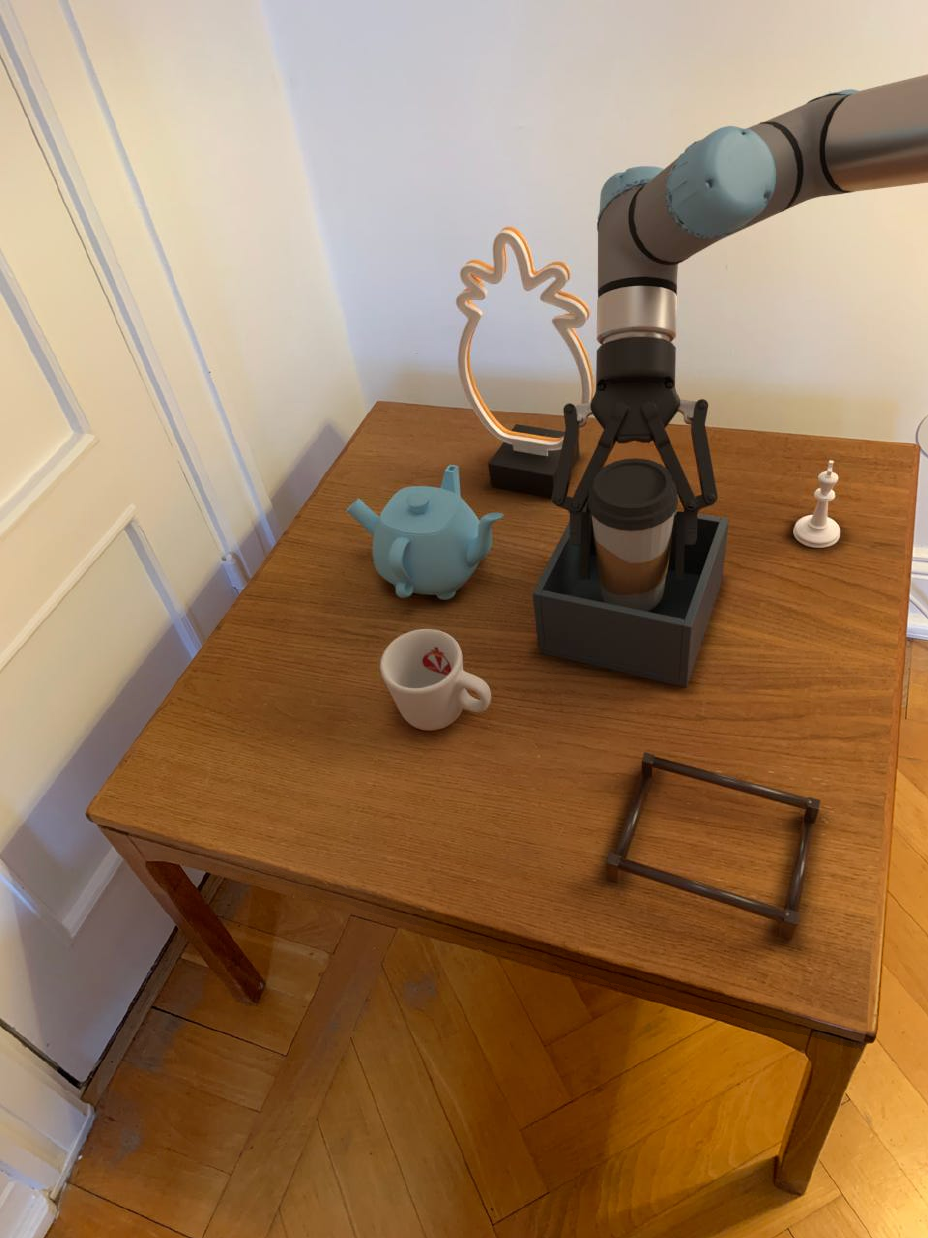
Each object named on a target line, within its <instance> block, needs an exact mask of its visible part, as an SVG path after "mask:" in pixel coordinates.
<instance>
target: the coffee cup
mask: <svg viewBox="0 0 928 1238" xmlns="http://www.w3.org/2000/svg"><path fill="white" fill-rule="evenodd" d="M678 498H679V497H678V494H677V488H676V484H675V483H674V481H673V479H672V476H671V474H670V472H669V471H668V470H667V469H666V468H665V465H664V466H663V464H661V463H658V462H656V461H654V460H650V459H646V458H636V457H634V458H624V459H620V460H615V461H613V462H611V463H609V464H606V465H604V467H603V468H602V469H601V470H600V471H599V472H598V473H597V475H596V476H595V478H594V481H593V483H592V485H591V488H590V490H589V500H588V506H589V510H590V512H591V514H592V522H593V530H594V545H595V553H596V560H597V568H598V576H599V579H600V585H601V593H602V597H603V599H604V601H605V602H606V603H608V604H613V605H617V606H622V607H627V608H632V609H636V610H641V611H646V612H649V611H651V610H652V609H654V608H655V607H656V606H657V604H659V602H660V601H661V599H662V597H663V593H664V586H665V579H666V574H667V570H668V562H669V555H670V548H671V541H672V527H673V520H674V513H675V511H676V510H677V509H678V504H679V499H678Z"/></svg>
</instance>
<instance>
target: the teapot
mask: <svg viewBox="0 0 928 1238" xmlns="http://www.w3.org/2000/svg"><path fill="white" fill-rule="evenodd" d="M459 468H460V467H459V465H455V464H449V465H448V466H447V467H446V469H444V474H443V476H442V481H441V484H440V487H436V486H430V485H429V486H428V485H412V486H406V487H403V488H401V489H400V490H398V491H396V492H395V494H393V496H392V497H391V498H390V499H389V501H388V502H387V503H386V504H385V506H384V508H383V509H382V511H381V512H380V515H378V514H377V513H376V512H375V511H374V510H373V509H371V507H369V506H368V505H367V504H365V502H364V501H362V500H361V498H359V497H357V499H356V500H354V501H353V502H352V503H351V504H350V505H349V506H348V508H347V509H346V512H347V513H348V514H349V515H350V516H351V517H352V518H353V519H354V520H355V521H356V522H357V523H358V524H359V525H360V526H361V527H362V528H364V529H365V530H366V531H367V532H368V533H369V534H370V536H372V537H373V539H372V559H373V565H374V568H375V570H376V571H377V573H378V574H379V576H380V577H382V578H383V579H384V580H385V581H387V582H388V583H389V584H391V585H393V586H394V587H395V594H396V596H397V597H399V598H401V599H406V598H409V597H410V596H411V595H412V594H418V595H419V594H420V595H430V596H431V595H433V596H435V595H436V597H437V598H438V599H439V600H446V601H447V600H450V599H451V598H453V597H454V596H455V595H456V592H457V591H459V589H461V588H463V586H464V585H465V584H466V583H467V582H468V581H469V579H470V578H471V576H472V575H473V574H474V572H475V570H476V569H477V567H478V565H479V564H480V563H481V562H482V561H483V560H484V559H485V558H487V556H488V555H489V553H490V551H491V549H492V544H493V533H492V532H493V531H492V527H493V524H494V523H495V522H497V521H499V520H501V519H502V518H503V517H504V513H502V512H491V513H487V514H485V515H483V516H482V517H481V518H480V519H479V518H478V516H477V515H476V513H475V512H474V511H473V509H472V508H471V507H470V506H469V504H468V503H467V502H466V501H465V500H464V499H463V498H462V495H461V483H460V469H459Z"/></svg>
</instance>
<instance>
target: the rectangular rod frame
mask: <svg viewBox="0 0 928 1238" xmlns="http://www.w3.org/2000/svg"><path fill="white" fill-rule="evenodd" d="M656 769H657V770H661V771H664V772H668V773H672V774H674V775H679V776H683V777H686V778H690V779H693V780H696V781H697V780H698V781H701V782H703V783H707V784H712V785H715V786H719V787H722V788H725V789H730V790H733V791H736V792H737V791H738V792H741V793H744V794H748V795H751V796H754V797H759V798H762V799H766V800H769V801H773V802H776V803H780V804H784V805H788V806H791V807H795V808H798V809H802V810H804V812H803V815H802V819H801V825H800V831H799V836H798V841H797V845H796V851H795V856H794V861H793V866H792V870H791V875H790V880H789V885H788V890H787V895H786V900H785V905H784V908H781V907H778V906H774V905H772V904H768V903H766V902H763V901H759V900H756V899H753V898H749V897H746V896H743V895H740V894H737V893H734V892H731V891H728V890H724V889H722V888H719V887H716V886H712V885H710V884H706V883H703V882H701V881H700V882H699V881H697V880H693V879H691V878H688V877H684V876H681V875H678V874H675V873H672V872H669V871H665V870H663V869H659V868H655V867H653V866H650V865H647V864H644V863H641V862H637V861H634V860H631V859H628V858H627V856H628V852H629V850H630V846H631V844H632V840H633V837H634V834H635V831H636V828H637V826H638V822H639V820H640V817H641V813H642V811H643V807H644V804H645V801H646V799H647V795H648V792H649V790H650V787H651V784H652V782H653V780H654V777H655V774H656ZM640 773H641V774H640V778H639V781H638V783H637V787H636V790H635V792H634V796H633V797H632V798H633V799H632V801H631V804H630V807H629V810H628V813H627V815H626V819H625V821H624V824H623V827H622V830H621V833H620V836H619V838H618V841H617V845H616V848H615V850H614V853H613V852H611V851H610V852H609V853H608V856H607V859H606V861H605V862H606V863H605V864H606V865H605V867H606V869H605V871H606V879H607V880H608V881H612V882H615V883H619V881H620V878H621V875H622V872H625V873H628V874H631V875H634V876H637V877H640V878H644V879H647V880H649V881H652V882H656V883H659V884H663V885H666V886H668V887H671V888H674V889H677V890H680V891H684V892H687V893H690V894H693V895H696V896H699V897H702V898H705V899H708V900H711V901H714V902H718V903H720V904H724V905H727V906H729V907H732V908H736V909H738V910H741V911H744V912H748V913H750V914H754V915H757V916H760V917H763V918H765V919H770V920H773V921H774V922H775V921H776V922H778V923H781V924H780V928H779V933H778V937H780V938H784V939H787V940H789V941H793V938H794V936H795V933H796V930H797V927H798V924H799V918H800V912H799V909H800V904H801V903H800V902H801V898H802V893H803V889H804V883H805V877H806V873H807V867H808V862H809V858H810V857H809V856H810V853H811V852H810V851H811V847H812V841H813V836H814V831H815V830H814V829H815V825H816V822H817V820H818V819H817V818H818V816H819V812H820V808H821V803H822V800H821V799H818V798H815V797H811V796H808V797H806V796H803V795H799V794H795V793H792V792H788V791H784V790H780V789H778V788H773V787H769V786H765V785H762V784H758V783H755V782H751V781H748V780H744V779H740V778H736V777H733V776H729V775H726V774H722V773H718V772H714V771H712V770H711V771H710V770H707V769H704V768H700V767H696V766H693V765H688V764H685V763H681V762H678V761H674V760H671V759H667V758H663V757H660V756H656V754H653V753H650V752H646V751H645V752H644V753H643V756H642V759H641V772H640Z"/></svg>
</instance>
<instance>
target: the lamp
mask: <svg viewBox="0 0 928 1238" xmlns="http://www.w3.org/2000/svg"><path fill="white" fill-rule="evenodd" d="M507 245H508V246H510V247H511V249H512V250H513V253H514V255H515V258H516V261H517V265H518V270H519V274H520V279H521V280H520V281H521V284H522V287H523V289H524V291H525V292H530V291H532V290H534V289H535V288H537V287H538V286H539V285H541V284H543V283H545V282H546V281H548V280H550V279H552V278H554V280H553V281H551V283H549V285H548V286H547V287H546V288H545V289H544V290H543V291H542V292H541V294H540V295H539V299H540V301H542V302H544V303H546V304H549V305H552V306H554V307H557V308H560V309H561V310H564V311H566V312H567V313H564V314H560V315H554V316H553V317H552V319H551V324H552V326H554V328H555V329H556V331H557V332H558V334H559V335H560V336H561V338H562V339H563V341H564V343H565V344H566V346H567V348H568V349H569V351H570V353H571V355H572V357H573V359H574V361H575V364H576V366H577V370H578V374H579V377H580V383H581V399H580V404H585V403H590V402H591V400H592V398H593V397H594V390H595V389H594V387H595V384H594V374H593V369H592V365H591V362H590V358H589V355H588V352H587V350H586V347H584V346H585V345H583V342H582V340H581V338H580V337H579V335H578V333H577V332H576V330H575V329H579V328H580V329H581V328H582V327H584V325H585V324H586V322H587V321H588V320H589V318H590V316H591V310H590V308H589V306H588V304H587V303H586V302H585V301H584V300H582V299H581V298H580V297H579V296H577V295H574V294H571V293H569V292H565V291H562V289H563V288H564V287H565V285H566V284H567V283H568V282H569V281H570V279H571V274H572V273H571V269H570V267H569V266H568V264H566V263H565V262H562V261H553V262H551V263H548V264H547V265H545V266H543V267H542V268H541V269H540V270H536V269H535V266H534V261H533V255H532V252H531V249H530V246H529V244H528V242H527V239H526V237H525V236H524V234H523V233H522V232H521V231H520V230H519V229H517V228H515V227H513V226H505V227H503V228H502V229H500V231H499V232H498V234H497V235H496V236H495V237H494V240H493V243H492V258H493V259H492V260H493V265H491V264H488V263H486V262H484V261H482V260H481V259H471V260H468V261H467V262H466V263H465V264H464V265H463V267H461V269H460V271H459V277H460V280H461V283H462V284H463V285H464V286H465V287H466V288H465V289H463V290H462V292H461V293H459V294H458V295H457V297H456V299H455V304H456V307H457V309H458V310H459V311H460V312H461V313H462V314H463V315H464V316H465V317H466V319H467V322H466V324H465V325H464V327H463V330H462V334H461V337H460V340H459V344H458V345H459V346H458V352H457V365H458V375H459V379H460V383H461V386H462V390H463V392H464V395H465V397H466V399H467V401H468V403H469V404H470V407H471V409H472V410H473V412H474V414H475V415H476V417H477V418H478V419H479V421H480V422H481V423H482V425H483V426H484V428H485V429H486V430H487V431H488V432H489V433H490V434H491V435H492V436H494V437H495V438H496V439H497V440H499V441H501V442H502V443H501V445H500V446H499V448H498V449H497V450H496V451H495V453H494V455H493V456H492V457H491V459H490V460H489V461H488V463H487V467H488V473H489V479H490V486H491V488H495V489H500V490H505V491H510V492H515V493H521V494H526V495H531V496H536V497H542V498H546V499H551V497H552V493H553V488H554V483H555V478H556V473H557V468H558V463H559V459H560V454H561V449H562V444H563V439H564V434H565V430H564V431H562V430H557V429H551V428H545V427H544V428H543V427H539V426H532V425H524V424H519V423H515V425H514V426H513V427H512V429H511V430H509V429H507V428H506V427H504V426H503V425H502V424H501V423H500V422H499V421H498V420H497V419H496V417H495V416H494V415H493V414H492V412H491V411H490V409H489V407H488V406H487V404H486V403H485V401H484V400H483V398H482V396H481V394H480V392H479V390H478V388H477V385H476V382H475V379H474V376H473V371H472V366H471V345H472V340H473V337H474V334H475V331H476V328H477V327H478V324H479V322H480V321H481V319H482V318H483V316H484V312H483V311H482V310H481V309H480V308H479V307H478V306H477V305H475V303H474V302H473V301H483V300H485V299H486V298H487V296H488V295H489V294H488V290H487V288H485V283H488V284H489V285H490V284H491V285H497V284H499V283H500V282H501V281H502V280H503V278H504V276H505V273H506V272H507V266H508V255H507V253H508V252H507ZM483 281H484V282H485V283H484V282H483ZM581 429H582V427H581V428H580V430H581ZM580 458H581V457H580V439H579V440H578V445H577V450H576V455H575V460H574V465H573V469H574V468H575V466H576V464H578V461H579V459H580Z"/></svg>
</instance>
